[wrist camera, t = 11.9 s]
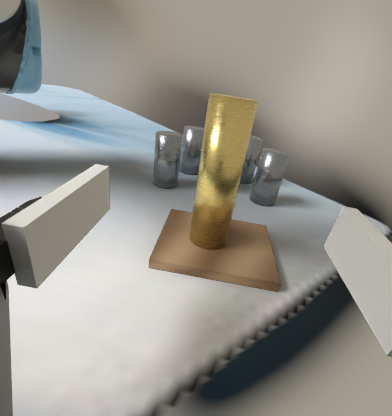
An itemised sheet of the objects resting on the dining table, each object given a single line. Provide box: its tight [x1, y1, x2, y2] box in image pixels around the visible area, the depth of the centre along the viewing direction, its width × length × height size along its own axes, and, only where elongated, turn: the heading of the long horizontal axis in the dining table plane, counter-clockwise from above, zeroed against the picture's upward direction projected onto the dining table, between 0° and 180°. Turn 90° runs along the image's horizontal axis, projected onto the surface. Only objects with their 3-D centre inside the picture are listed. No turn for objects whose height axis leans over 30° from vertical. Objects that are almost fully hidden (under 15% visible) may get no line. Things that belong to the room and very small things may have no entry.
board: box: [149, 209, 281, 292], centre depth 27 cm, size 12×10×1 cm
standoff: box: [189, 94, 258, 250], centre depth 24 cm, size 4×4×14 cm
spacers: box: [153, 126, 290, 206], centre depth 42 cm, size 20×12×8 cm, turn 83°
